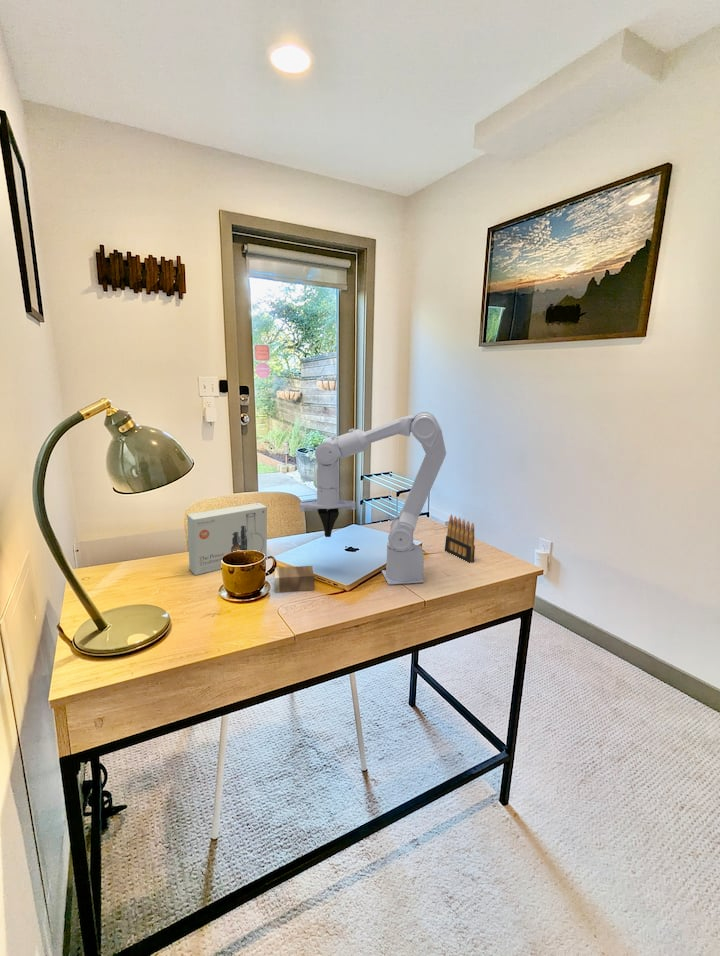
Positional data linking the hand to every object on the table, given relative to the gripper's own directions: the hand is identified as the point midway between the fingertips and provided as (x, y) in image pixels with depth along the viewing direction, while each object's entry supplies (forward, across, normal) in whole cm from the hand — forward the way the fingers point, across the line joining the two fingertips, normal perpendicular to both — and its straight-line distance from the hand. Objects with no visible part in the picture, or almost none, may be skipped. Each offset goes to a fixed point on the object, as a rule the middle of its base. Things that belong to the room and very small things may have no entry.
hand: (327, 535), depth 118 cm
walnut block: (+8, +5, +7) cm, 12 cm away
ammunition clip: (+11, -41, -5) cm, 42 cm away
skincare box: (+11, +26, -9) cm, 30 cm away
